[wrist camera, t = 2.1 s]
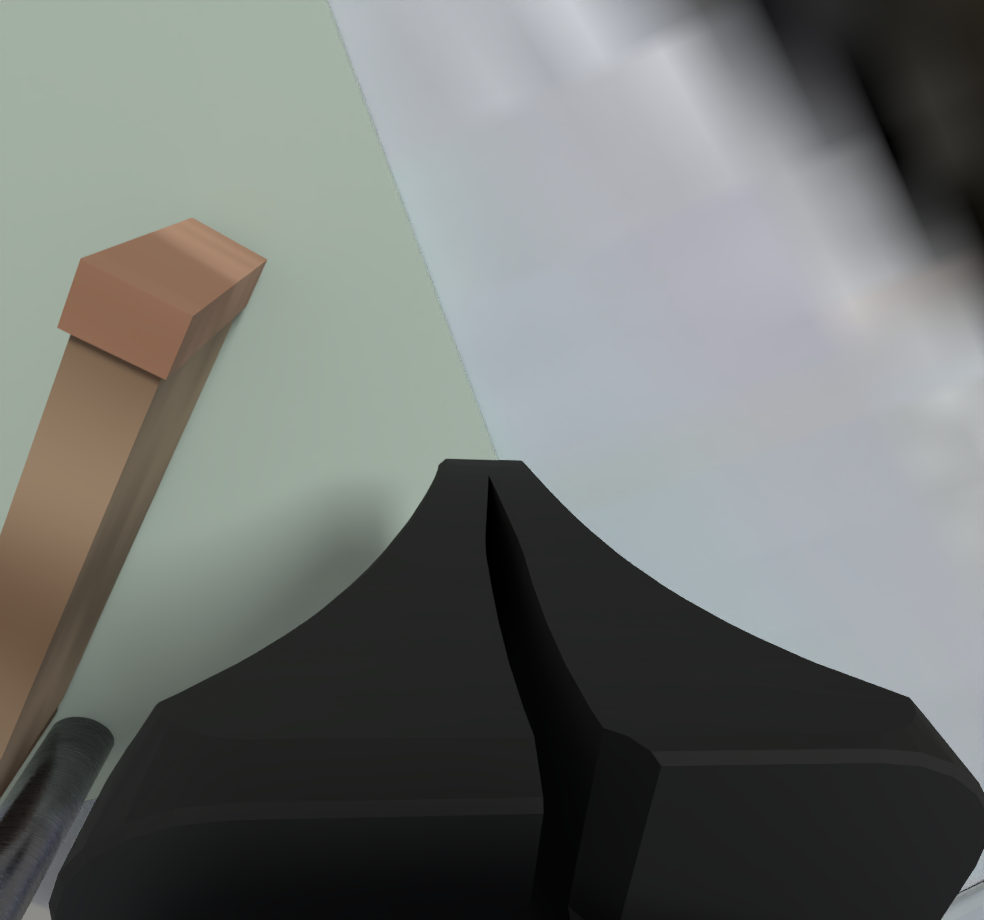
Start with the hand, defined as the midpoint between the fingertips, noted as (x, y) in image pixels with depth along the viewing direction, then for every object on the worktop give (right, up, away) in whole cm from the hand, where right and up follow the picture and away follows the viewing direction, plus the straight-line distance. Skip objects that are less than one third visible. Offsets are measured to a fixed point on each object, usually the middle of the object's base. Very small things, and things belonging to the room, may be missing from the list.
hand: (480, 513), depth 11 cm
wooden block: (-8, 0, +3) cm, 9 cm away
